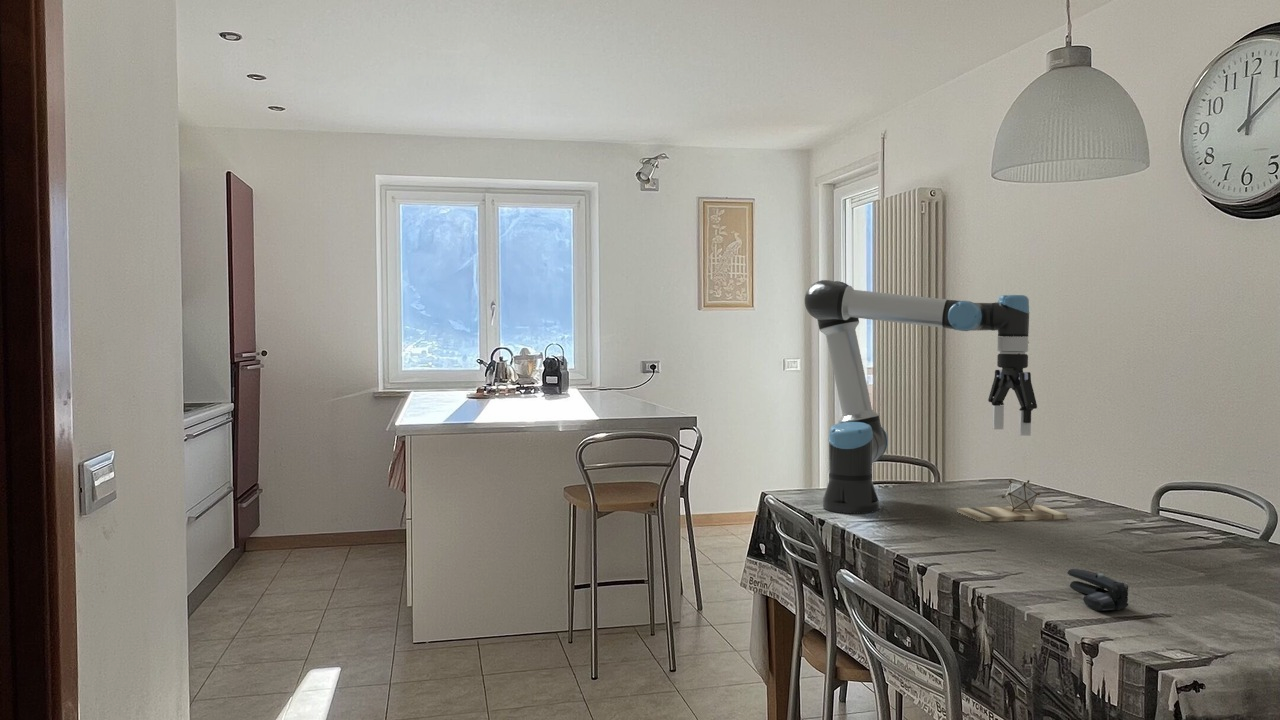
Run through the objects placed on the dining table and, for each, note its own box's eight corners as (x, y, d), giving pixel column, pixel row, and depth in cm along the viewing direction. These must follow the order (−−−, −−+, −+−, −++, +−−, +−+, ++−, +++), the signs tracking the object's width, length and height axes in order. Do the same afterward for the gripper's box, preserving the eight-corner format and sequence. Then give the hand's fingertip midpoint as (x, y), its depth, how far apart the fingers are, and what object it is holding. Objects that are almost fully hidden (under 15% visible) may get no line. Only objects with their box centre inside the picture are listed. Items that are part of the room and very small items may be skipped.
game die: (1012, 524, 231) (988, 492, 234) (1034, 510, 234) (1010, 478, 237) (1031, 513, 223) (1007, 480, 226) (1053, 499, 226) (1029, 466, 229)
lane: (979, 522, 222) (979, 517, 222) (957, 512, 234) (957, 508, 234) (1067, 518, 225) (1067, 514, 225) (1040, 509, 237) (1040, 505, 237)
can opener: (1139, 616, 149) (1140, 584, 149) (1098, 616, 149) (1098, 584, 149) (1091, 586, 167) (1091, 557, 166) (1054, 586, 167) (1054, 557, 167)
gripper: (1052, 354, 220) (1050, 438, 220) (1001, 351, 244) (1000, 426, 245) (1024, 354, 219) (1022, 438, 220) (976, 351, 244) (974, 426, 244)
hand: (1011, 432), depth 232 cm, fingers open, 13 cm apart
